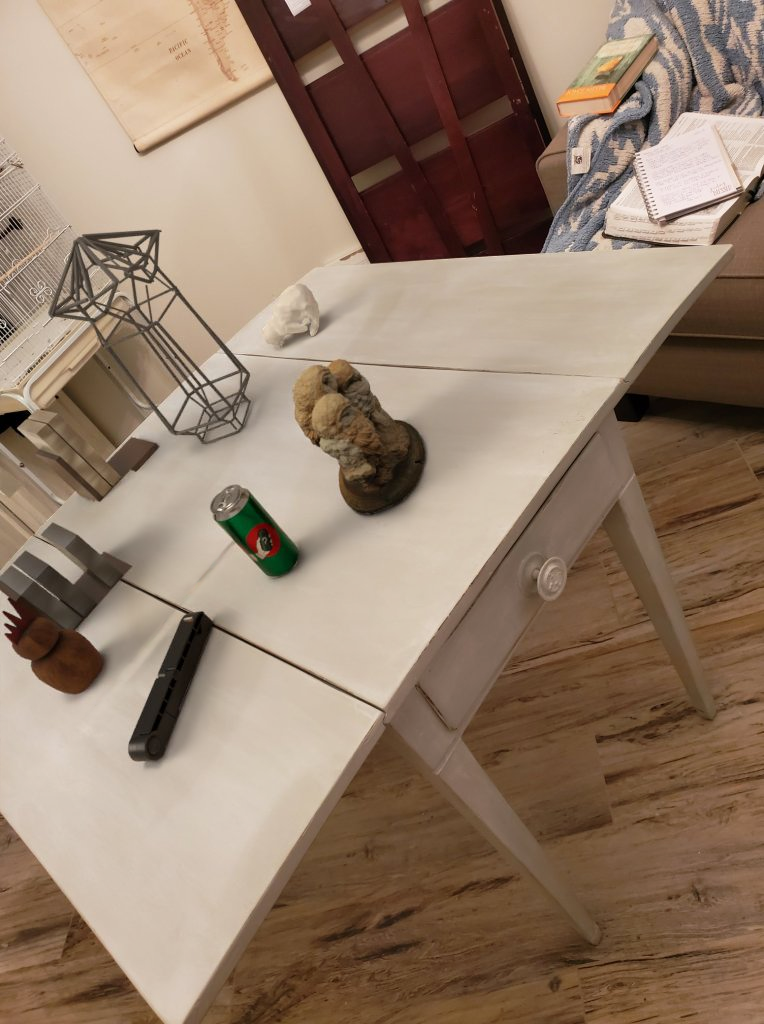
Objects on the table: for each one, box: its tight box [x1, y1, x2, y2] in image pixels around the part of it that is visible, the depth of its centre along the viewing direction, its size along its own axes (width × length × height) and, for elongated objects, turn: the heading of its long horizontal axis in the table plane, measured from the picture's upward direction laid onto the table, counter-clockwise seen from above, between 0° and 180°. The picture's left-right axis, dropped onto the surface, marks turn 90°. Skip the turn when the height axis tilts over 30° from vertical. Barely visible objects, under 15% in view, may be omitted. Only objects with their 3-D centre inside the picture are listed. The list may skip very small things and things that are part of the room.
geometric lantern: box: [47, 228, 252, 445], centre depth 110 cm, size 16×16×35 cm
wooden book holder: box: [16, 408, 160, 503], centre depth 122 cm, size 14×10×16 cm
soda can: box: [209, 484, 300, 578], centre depth 84 cm, size 5×5×12 cm
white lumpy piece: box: [261, 282, 320, 348], centre depth 127 cm, size 6×8×12 cm
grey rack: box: [0, 522, 133, 631], centre depth 101 cm, size 13×10×10 cm
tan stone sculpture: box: [292, 358, 426, 515], centre depth 86 cm, size 18×12×17 cm, turn 5°
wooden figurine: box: [1, 597, 105, 695], centre depth 86 cm, size 7×6×15 cm
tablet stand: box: [127, 610, 214, 763], centre depth 80 cm, size 18×3×3 cm, turn 168°
